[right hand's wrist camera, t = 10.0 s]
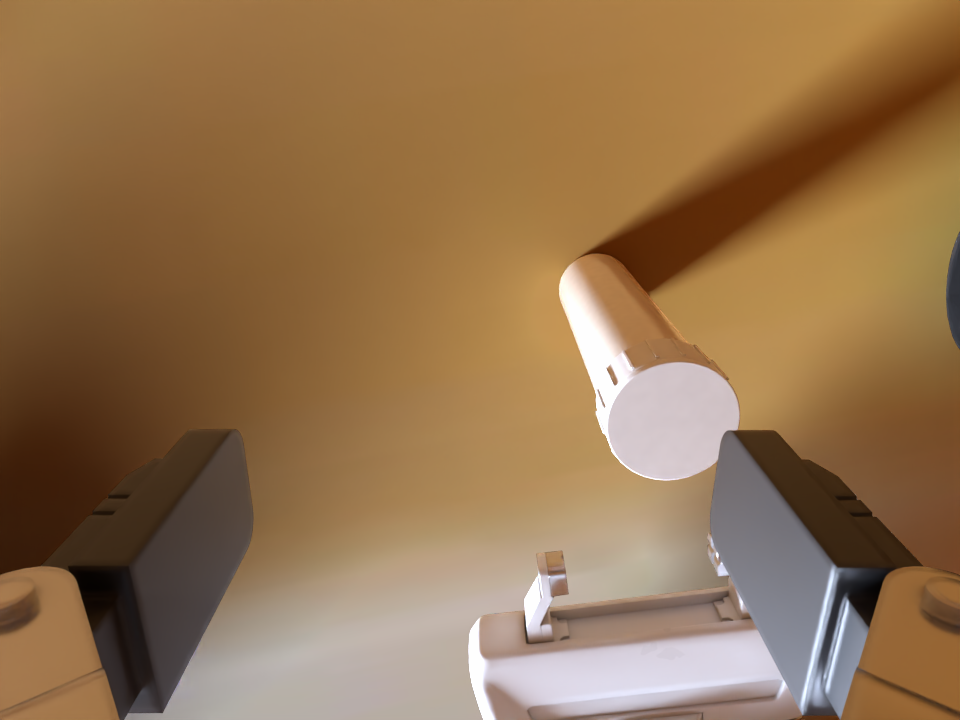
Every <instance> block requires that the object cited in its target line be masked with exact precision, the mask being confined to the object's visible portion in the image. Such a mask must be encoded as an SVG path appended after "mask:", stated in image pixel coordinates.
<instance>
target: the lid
mask: <svg viewBox="0 0 960 720" xmlns="http://www.w3.org/2000/svg"><path fill="white" fill-rule="evenodd" d="M604 370H605V371H604V373H603V375H602V377H601V379H600V381H599V384H598V388H597V389H596V390H595V392H596V404H597V410H598V411H596V415H597V418H598V420H599V423H600V426H601V429H602V431H603V434H605V433H606V436H607V439H608V442H609V444H610V447H611V450H612V452H613V454H615V456H616V457H617V458H618V459H619V461H620V462H621V463H622V464H623V465H625V466H626V467H627V468H629V469H630V470H631V471H633V472H635V473H637V474H639V475H642V476H644V477H647V478H652V479H657V480H676V479H682V478H686V477H690V476H693V475H695V474H698V473H700V472H702V471H704V470H706V469H707V468H709V467H710V466H712V465H713V464H714V463H716V462H717V461H718V455H719V449H720V443H721V439H722V437H723V435H724V433H725V432H726V431H728V430H738V427H739V422H740V407H739V402H738V398H737V395H736V393H735V391H734V389H733V387H732V386H731V385H730V383H729V382H728V381H727V380H729V378H728V377H727V376H726V375H725V374H724V372H723V371H722V370H721V369H720V368H719V367H718V366H717V364H716V363H715V362H714V361H713V360H711V361H710V360H709V359H708V357H707V356H706V355H705V354H704V353H703V352H702V351H701V350H700V349H699V348H698V347H697V346H696V345H694V346H692V345H691V344H688V343H686V342H683V341H679V340H675V339H674V338H670V339H667V338H663V339H651V340H648V339H646V340H645V341H643V342H640V343H638V344H635V345H633V346H631V347H629V348H627V349H626V350H622V352H621V353H620V354H619V355H618V356H617V357H615V358H614V359H613V360H612V362H611V363H610V364H609V365H608V366H607V367H605V369H604Z"/></svg>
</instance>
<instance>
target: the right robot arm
mask: <svg viewBox="0 0 960 720" xmlns="http://www.w3.org/2000/svg"><path fill="white" fill-rule="evenodd" d="M710 528H711V535H712V540H713V544H714V547H715V549H716V551H717V553H718V555H719V557H720V559H721V561H722V563H723V565H724V567H725V569H726V570H727V572H728V574H729V576H730V578H731V580H732V582H733V584H734V586H735V588H736V590H737V591H738V593H739V595H740V597H741V599H742V601H743V603H744V605H745V607H746V609H747V610H748V612H749V614H750V616H751V618H752V620H753V622H754V624H755V626H756V628H757V630H758V631H759V633H760V635H761V637H762V639H763V641H764V643H765V645H766V647H767V649H768V650H769V652H770V654H771V656H772V658H773V660H774V662H775V664H776V666H777V668H778V670H779V671H780V673H781V675H782V677H783V679H784V681H785V683H786V685H787V687H788V689H789V691H790V692H791V694H792V696H793V698H794V700H795V702H796V704H797V706H798V708H799V710H800V711H801V713H802V715H838V717H839V719H840V720H960V575H958V574H955V573H952V572H948V571H945V570H940V569H936V568H929V567H924V566H923V565H922V564H921V563H920V562H919V561H918V560H917V559H916V558H915V557H914V556H913V555H912V554H911V553H910V552H909V551H908V550H907V549H906V547H905V546H904V545H903V544H902V543H901V542H900V541H899V540H898V539H897V538H896V537H895V536H894V535H893V534H892V533H891V532H890V531H889V530H888V529H887V528H886V526H885V525H884V524H883V523H882V522H881V521H880V520H879V519H878V518H877V517H873V516H872V512H871V511H870V510H869V509H868V508H867V507H866V505H865V504H864V503H863V502H862V501H861V500H857V496H856V495H855V494H854V493H853V492H852V491H851V490H850V489H849V488H848V487H847V486H846V484H845V483H844V482H843V481H842V480H841V479H840V478H839V477H838V476H836V475H834V474H833V473H831V472H829V471H828V470H826V469H824V468H822V467H821V466H819V465H817V464H816V463H814V462H812V461H810V460H801V458H800V457H799V456H798V455H797V454H796V453H795V452H794V451H793V449H792V448H791V447H790V446H789V445H788V444H787V443H786V442H785V441H784V439H783V438H782V437H781V436H780V435H779V434H778V433H777V432H776V431H773V430H728V431H726V432H725V433H724V435H723V437H722V439H721V443H720V449H719V455H718V462H717V469H716V476H715V483H714V490H713V497H712V504H711V511H710ZM252 531H253V506H252V499H251V492H250V485H249V478H248V471H247V464H246V457H245V450H244V444H243V439H242V436H241V434H240V432H239V431H238V430H236V429H190V430H188V431H187V432H186V433H185V434H184V435H183V436H182V437H181V438H180V440H179V441H178V442H177V443H176V444H175V445H174V446H173V447H172V449H171V450H170V451H169V452H168V453H167V454H166V455H165V457H164V458H163V459H153V460H152V461H150V462H148V463H147V464H145V465H143V466H141V467H140V468H138V469H136V470H135V471H133V472H131V473H129V474H128V475H126V476H125V477H124V478H123V479H122V481H121V482H120V483H119V484H118V485H117V486H116V487H115V488H114V489H113V490H112V491H111V492H110V493H109V494H108V499H104V500H103V501H102V502H101V503H100V504H99V505H98V506H97V507H96V508H95V509H94V510H93V514H92V515H88V517H87V518H86V519H85V520H84V521H83V522H82V523H81V524H80V525H79V526H78V527H77V528H76V529H75V530H74V531H73V532H72V534H71V535H70V536H69V537H68V538H67V539H66V540H65V541H64V542H63V543H62V544H61V545H60V546H59V547H58V548H57V549H56V550H55V552H54V553H53V554H52V555H51V556H50V557H49V558H48V559H47V560H46V561H45V562H44V563H43V564H42V565H41V566H40V567H31V568H24V569H20V570H15V571H12V572H8V573H5V574H2V575H0V720H124V719H125V717H126V715H127V714H128V713H163V711H164V709H165V707H166V705H167V704H168V702H169V700H170V698H171V696H172V694H173V692H174V690H175V688H176V686H177V684H178V682H179V680H180V678H181V677H182V675H183V673H184V671H185V669H186V667H187V665H188V663H189V661H190V659H191V657H192V655H193V653H194V651H195V650H196V648H197V646H198V644H199V642H200V640H201V638H202V636H203V634H204V632H205V630H206V628H207V626H208V624H209V623H210V621H211V619H212V617H213V615H214V613H215V611H216V609H217V607H218V605H219V603H220V601H221V599H222V597H223V596H224V594H225V592H226V590H227V588H228V586H229V584H230V582H231V580H232V578H233V576H234V574H235V572H236V570H237V569H238V567H239V565H240V563H241V561H242V559H243V557H244V555H245V553H246V551H247V549H248V547H249V544H250V541H251V536H252Z"/></svg>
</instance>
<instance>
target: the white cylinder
mask: <svg viewBox="0 0 960 720" xmlns="http://www.w3.org/2000/svg"><path fill="white" fill-rule="evenodd" d="M559 296H560V300H561V303H562V306H563V308H564V311H565V313H566V316H567V319H568V321H569V324H570V327H571V329H572V332H573V334H574V337H575V340H576V342H577V345H578V347H579V350H580V353H581V355H582V358H583V361H584V363H585V366H586V368H587V371H588V374H589V376H590V379H591V381H592V384H593V387H594V389H595V390H596V389H597V388H598V384H599V381H600V379H601V377H602V375H603V373H604V371H605V370H604V369H605V367H607V366H608V365H609V364H610V363H611V362H612V360H613V359H614V358H615V357H617V356H618V355H619V354H620V353H621V352H622V350H626V349H627V348H629V347H631V346H633V345H635V344H638V343H640V342H643V341H645V340H646V339H648V340H651V339H663V338H667V339H670V338H674V339H675V340H679V341H683V342H686V343H688V342H687V341H686V340H685V338H684V337H683V336H682V335H681V334H680V332H679V331H678V330H677V329H676V328H675V326H674V325H673V324H672V323H671V322H670V320H669V319H668V318H667V317H666V316H665V314H664V313H663V312H662V311H661V310H660V308H659V307H658V306H657V305H656V304H655V302H654V301H653V300H652V299H651V298H650V296H649V295H648V294H647V293H646V292H645V290H644V289H643V288H642V287H641V286H640V284H639V283H638V282H637V281H636V280H635V278H634V277H633V276H632V275H631V274H630V272H629V271H628V270H627V269H626V268H625V266H624V265H623V264H622V263H621V262H620V261H618V260H617V259H616V258H614V257H612V256H609V255H606V254H589V255H585V256H583V257H580V258H579V259H577V260H575V261H574V262H573V263H572V264H571V265H569V267H568V268H567V269H566V270H565V272H564V274H563V276H562V278H561V281H560V285H559ZM688 344H689V343H688Z"/></svg>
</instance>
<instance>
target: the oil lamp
mask: <svg viewBox="0 0 960 720" xmlns="http://www.w3.org/2000/svg"><path fill="white" fill-rule="evenodd" d="M946 301H947V315H948V320H949V325H950V329H951V332H952V336H953V338H954V340H955V343H956V344H957V346H958V348H959V349H960V232H959V234H958V237H957V239H956V242H955V245H954V248H953V251H952V255H951V259H950V264H949V270H948V276H947V288H946Z"/></svg>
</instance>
